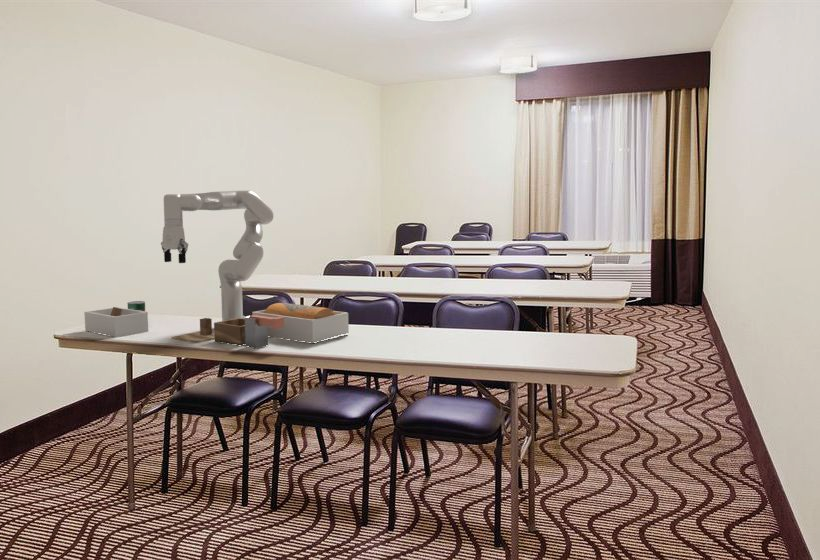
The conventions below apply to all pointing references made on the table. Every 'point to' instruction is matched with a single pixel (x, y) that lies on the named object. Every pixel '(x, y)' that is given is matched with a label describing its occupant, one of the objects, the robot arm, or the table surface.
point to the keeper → (255, 333)
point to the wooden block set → (116, 311)
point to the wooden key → (270, 321)
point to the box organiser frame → (309, 327)
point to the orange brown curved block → (299, 311)
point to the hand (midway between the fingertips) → (175, 262)
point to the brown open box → (230, 331)
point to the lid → (199, 333)
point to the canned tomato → (136, 305)
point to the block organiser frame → (116, 322)
